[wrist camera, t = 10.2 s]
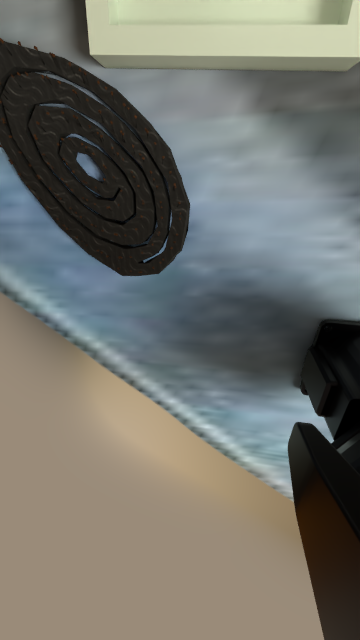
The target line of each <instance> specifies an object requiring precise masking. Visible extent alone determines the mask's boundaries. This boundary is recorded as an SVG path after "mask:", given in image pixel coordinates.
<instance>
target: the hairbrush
mask: <svg viewBox="0 0 360 640" xmlns="http://www.w3.org/2000/svg"><path fill="white" fill-rule="evenodd" d="M19 45H20V46H19ZM34 48H35V49H36V50H33V49H30V48H26V47H22V46H21V43H20V42H19V41H18V45H15V44H12V43H8V42H5V41H3V40H2V39H1V38H0V143H1V144H0V147H2V148H3V149H4V150H5V152H6V154H7V155H8V157H9V159H10V160H9V162H10V163H11V164H13V166H14V167H15V169H16V171H17V173H18V175H19V176H20V178H21V180H22V181H23V182H24V184H25V185H26V186H27V187H28V188H29V190H30V191H31V192H32V193H33V195H34V196H35V197H36V198H37V200H38V201H39V202H40V203H41V205H42V206H43V207H44V208H45V210H46V211H47V212H48V213H49V215H50V216H51V217H52V218H53V220H54V221H55V222H56V223H57V224H58V226H59V227H60V228H61V229H62V230H63V231H64V232H66V233H67V234H68V235H69V236H70V237H71V238H72V239H73V240H74V241H75V242H76V243H77V244H78V245H79V246H80V247H81V248H83V249H84V250H85V251H86V252H87V253H88V254H89V255H91V256H92V257H94V258H95V259H97V260H98V261H100V262H102V263H103V264H105V265H106V266H108V267H109V268H111V269H112V270H114V271H116V272H117V273H119V274H120V275H122V276H142V275H152V274H159V273H160V272H161V271H162V270H163V269H165V268H166V267H167V266H168V265H169V264H170V263H171V262H172V261H173V260H174V259H175V257H176V255H177V254H179V253H180V252H181V251H182V248H183V245H184V242H185V238H186V235H187V232H188V224H189V211H190V202H189V199H188V197H187V194H186V191H185V188H184V186H183V182H182V177H181V175H180V173H179V171H178V169H177V166H176V163H175V160H174V158H173V155H172V152H171V149H170V148H169V147H168V145H167V144H166V143H165V142H164V140H163V139H162V138H161V136H160V135H159V134H158V133H157V131H156V130H155V129H154V127H153V126H152V125H151V124H150V122H149V121H148V120H147V119H146V118H145V117H144V116H143V115H142V114H141V113H140V112H139V111H138V110H137V109H136V108H135V107H134V106H133V105H132V104H131V103H130V102H129V101H128V100H127V99H126V98H125V97H124V96H123V95H122V94H121V93H120V92H118V91H117V90H116V89H115V88H113V87H112V86H110V85H109V84H107V83H105V82H104V81H102V80H101V79H99V78H97V77H96V76H94V75H93V74H91V73H89V72H88V71H86V70H84V69H83V68H81V67H79V66H77V65H76V64H74V63H72V62H70V61H68V60H66V59H65V58H62V57H58V56H55V54H53V53H52V54H51V52H50V53H49V54H47V53H44V52H40V51H38V49H37V47H35V46H34ZM44 71H49V72H52V73H54V75H58V76H60V77H62V78H65V79H67V80H69V81H71V82H73V83H75V84H78V85H80V86H82V87H84V88H86V89H88V90H90V91H92V92H93V93H95V94H96V95H98V96H99V97H100V98H101V99H102V100H103V101H104V102H105V103H107V104H108V105H109V106H110V107H111V108H112V109H113V110H114V111H115V112H117V113H118V114H119V115H120V116H121V117H122V118H123V119H124V120H125V121H127V122H128V123H129V124H130V125H131V126H132V127H133V128H134V129H135V130H136V131H137V132H138V134H139V136H140V137H141V139H142V141H143V142H144V144H145V145H144V144H143V143H142V142H141V141H140V140H139V139H138V138H137V136H136V135H135V134H134V133H133V132H132V131H131V130H130V129H129V127H127V125H126V124H125V123H124V122H123V121H121V120H120V119H119V118H118V117H117V116H116V115H115V114H114V113H113V112H112V111H110V110H109V109H108V108H107V107H105V106H104V105H102V104H101V103H99V102H98V101H96V100H94V99H93V98H91V97H90V96H88V95H87V94H85V93H84V92H82V91H80V90H79V89H77V88H76V87H74V86H72V85H71V84H68V83H65V82H62V81H59V80H56V79H53V78H50V77H48V76H47V75H46V76H43V75H42V74H41V75H40V74H37V73H34V72H41V73H44ZM30 72H32V73H30ZM52 73H47V74H52ZM48 103H53V104H67V105H69V106H71V107H72V108H74V109H76V110H78V111H79V112H81V113H83V114H85V115H87V116H88V117H90V118H92V119H94V120H95V121H97V122H99V123H101V124H102V125H103V126H104V127H105V128H106V129H107V130H108V131H109V132H110V133H111V134H112V135H113V136H114V137H115V139H116V140H117V141H118V142H119V143H120V144H121V145H122V146H123V147H124V148H125V149H126V150H127V151H128V152H129V153H130V154H131V155H132V156H133V158H134V159H135V160H136V161H137V162H138V163H139V164H140V165H141V166H142V168H143V169H142V168H141V167H140V166H139V164H138V163H137V162H136V161H135V160H134V159H133V158H132V157H131V156H130V155H129V154H128V153H127V152H126V151H125V150H124V149H123V148H122V147H121V146H120V145H119V144H118V143H116V142H115V141H114V140H113V139H112V138H111V137H110V136H108V135H107V134H106V133H105V132H104V131H103V130H102V129H101V128H99V127H98V126H97V125H95V124H94V123H92V122H91V121H89V120H88V119H86V118H85V117H84V116H82V115H81V114H79V113H77V112H75V111H74V110H72V109H70V108H59V107H48V106H39V105H40V104H48ZM32 111H33V112H32ZM31 113H32V114H31ZM70 134H78V135H81V136H83V137H85V138H87V139H89V140H90V141H92V142H94V143H95V144H97V145H99V146H100V147H102V148H103V149H104V150H105V151H106V152H107V154H108V155H109V156H110V157H111V158H112V159H113V160H114V161H115V162H116V163H117V164H118V165H119V166H118V165H117V164H116V163H115V162H114V161H113V160H111V159H110V158H109V157H107V156H106V155H105V154H104V153H103V152H101V151H100V150H99V149H98V148H97V147H95V146H93V145H91V144H89V143H87V142H85V141H83V140H81V139H79V138H70V137H68V138H65V137H67V136H68V135H70ZM60 140H62V145H61V146H60ZM36 144H37V145H36ZM1 145H2V146H1ZM145 146H146V147H147V148H146V147H145ZM37 147H38V148H37ZM144 147H145V148H144ZM38 149H39V151H40V153H41V154H40V153H39V151H38ZM147 149H148V150H149V151H148V150H147ZM146 150H147V151H146ZM78 152H79V153H83V154H87V155H89V156H91V157H92V158H93V159H94V161H95V162H96V164H97V165H98V166H99V168H100V169H101V170H102V172H103V173H104V174H105V176H106V178H103V180H104V182H103V183H102V182H101V181H98V180H96V179H94V178H92V177H91V176H89V175H88V174H87V173H86V172H85V170H84V169H83V168H82V167H81V166H80V165H79V163H78V162H77V160H76V158H77V154H78ZM149 152H150V153H149ZM127 154H128V155H129V156H128V155H127ZM151 155H152V156H151ZM26 158H27V159H26ZM62 158H63V159H62ZM63 160H64V161H65V162H66V165H68V166H69V167H70V169H71V170H72V172H73V173H74V174H75V175H76V176H77V178H78V179H79V180H80V181H81V183H80V182H79V181H78V180H77V179H76V178H75V177H74V175H73V174H72V173H71V172H70V170H69V169H68V168H67V167H66V166H65V164H64V163H63ZM154 160H155V161H154ZM116 165H117V166H118V167H117V166H116ZM49 167H50V168H51V169H52V171H53V172H54V173H55V174H56V175H57V176H58V177H59V178H60V179H61V180H62V182H63V183H64V184H65V185H66V186H67V187H68V188H69V189H70V190H71V191H72V193H73V194H74V195H75V196H74V195H73V194H72V193H71V192H70V191H69V190H68V189H67V187H66V186H65V185H64V184H63V183H62V182H61V181H60V180H59V179H58V178H57V177H56V176H55V175H54V173H53V172H52V171H51V169H50V168H49ZM121 169H122V170H123V171H124V172H125V173H124V172H123V171H122V170H121ZM163 175H164V176H163ZM164 177H165V179H166V180H167V182H168V187H169V193H168V189H167V186H166V183H165V179H164ZM44 184H45V185H46V186H45V185H44ZM83 184H84V185H85V186H87V187H88V188H90V189H91V190H93V191H95V192H96V193H98V194H99V195H101V196H102V197H101V196H98V195H97V194H95V193H94V194H95V195H97V196H98V197H96V196H95V195H94V194H93V192H91V191H90V190H89V189H88V188H87V187H85V186H84V185H83ZM48 189H49V190H50V191H51V192H50V191H49V190H48ZM52 194H53V195H54V196H55V197H56V198H55V197H54V196H53V195H52ZM154 194H155V195H154ZM115 196H117V197H116V199H115V200H114V201H112V200H110V199H107V198H114V197H115ZM99 197H100V198H99ZM86 206H87V207H88V208H87V207H86ZM89 207H90V209H91V210H90V209H89ZM92 209H93V210H94V212H93V211H92ZM95 211H96V212H97V214H96V213H95ZM171 212H172V222H171V226H170V216H171ZM98 213H99V214H98ZM135 213H136V216H135V217H134V218H132V219H131V220H130V221H128V222H127V223H122V222H119V221H126V220H128V219H130V218H131V217H133V216H134V214H135ZM100 214H101V215H100ZM113 219H114V220H113ZM116 220H119V221H116ZM156 222H157V223H158V227H157V228H156V230H155V227H156ZM83 225H84V226H83ZM169 228H170V231H169ZM154 231H155V232H154ZM152 234H153V236H152V237H151V239H150V241H149V243H148V244H144V245H140V246H136V247H132V246H128V245H133V244H141V243H143V242H145V241H147V240H148V238H149V237H150V236H151V235H152ZM167 237H168V239H167ZM166 239H167V244H166V247H165V250H164V251H163V252H162V253H161V254H159V255H157V256H156V257H154V258H152V259H150V260H148V261H146V262H145V263H144V262H143V260H145V259H147V258H150V257H152V256H154V255H155V254H157V253H159V251H160V250H161V248H162V247H163V245H164V243H165V241H166ZM110 240H111V241H110ZM112 241H113V242H112Z"/></svg>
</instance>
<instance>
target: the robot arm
mask: <svg viewBox="0 0 360 640" xmlns="http://www.w3.org/2000/svg"><path fill="white" fill-rule="evenodd" d="M326 326H330V328H328V329H324V328H325V327H326ZM301 377H302V382H301V385H300V389H301V392H302V393H303V394H304V395H309V398H310V400H311V403H312V405H313V408H314V410H315V413H316V414H317V415H318V416H322V417H324V418H325V421H326V423H327V425H328V428H329V430H330V432H331V435H332V437H333V439H334V442H333V443H330V442H329V441H328V440H327V439H326V438H325V437H324V436H323V435H322V434H321V433H320V431H319V430H318V429H317V428H316V427H315V426H314V425H312V424H310V423H302V422H296V423H295V424H294V427H293V430H292V433H291V436H290V439H289V442H288V456H289V464H290V473H291V481H292V489H293V497H294V505H295V512H296V517H297V521H298V526H299V530H300V535H301V539H302V544H303V548H304V553H305V557H306V561H307V565H308V570H309V574H310V578H311V583H312V587H313V592H314V596H315V601H316V605H317V609H318V614H319V618H320V622H321V627H322V631H323V635H324V640H360V323H358V322H346V321H335V320H324V321H322V322H321V323H320V324H319V327H318V330H317V333H316V336H315V340H314V343H313V346H311V347H310V348H309V349H308V352H307V355H306V358H305V362H304V365H303V368H302V372H301Z"/></svg>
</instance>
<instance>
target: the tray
mask: <svg viewBox="0 0 360 640" xmlns="http://www.w3.org/2000/svg"><path fill="white" fill-rule="evenodd" d="M85 1H86V13H87V25H88V36H89V48H90V55H91V56H92V57H93V58H94V59H95V60H97V61H98V62H99V63H100V64H101V65H102V66H103V67H105V68H130V69H205V70H280V71H347V70H349V69H350V68H351V67H352V66H354V65H355V64H356V63H358V62H359V61H360V0H85Z"/></svg>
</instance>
